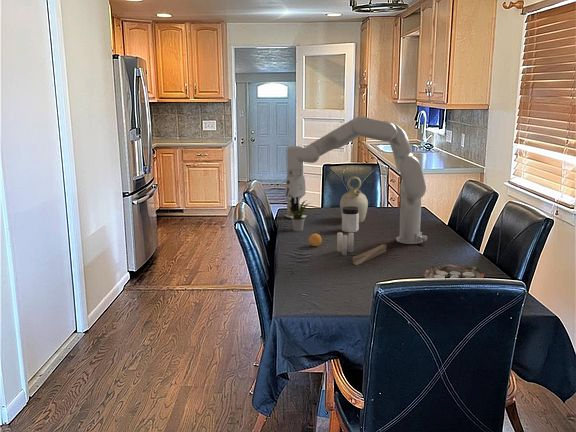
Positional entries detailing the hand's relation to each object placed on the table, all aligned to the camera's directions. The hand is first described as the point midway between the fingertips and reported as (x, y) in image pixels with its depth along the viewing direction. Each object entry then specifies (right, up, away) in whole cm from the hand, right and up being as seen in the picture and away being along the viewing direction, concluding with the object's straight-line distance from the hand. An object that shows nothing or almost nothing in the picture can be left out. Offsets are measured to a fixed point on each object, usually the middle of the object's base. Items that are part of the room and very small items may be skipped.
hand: (294, 210), depth 252 cm
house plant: (+3, -10, +27) cm, 29 cm away
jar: (+29, -10, +23) cm, 39 cm away
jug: (+34, -5, +45) cm, 57 cm away
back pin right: (+25, -19, -13) cm, 34 cm away
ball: (+9, -14, -4) cm, 17 cm away
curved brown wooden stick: (+32, -21, -23) cm, 45 cm away
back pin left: (+22, -19, -17) cm, 34 cm away
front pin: (+20, -18, -13) cm, 30 cm away
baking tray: (+59, -28, -55) cm, 85 cm away
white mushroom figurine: (+1, -3, +54) cm, 54 cm away
